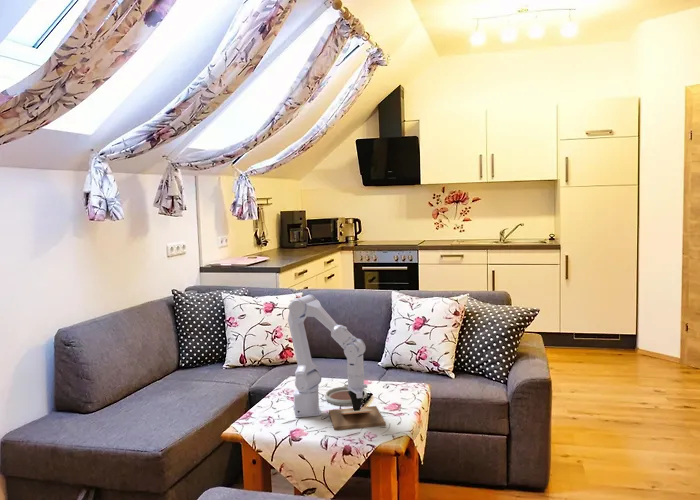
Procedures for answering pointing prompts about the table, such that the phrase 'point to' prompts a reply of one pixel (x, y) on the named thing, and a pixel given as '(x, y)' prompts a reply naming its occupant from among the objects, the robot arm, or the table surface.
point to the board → (356, 418)
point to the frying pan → (340, 396)
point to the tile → (356, 411)
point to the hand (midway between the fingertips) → (356, 410)
